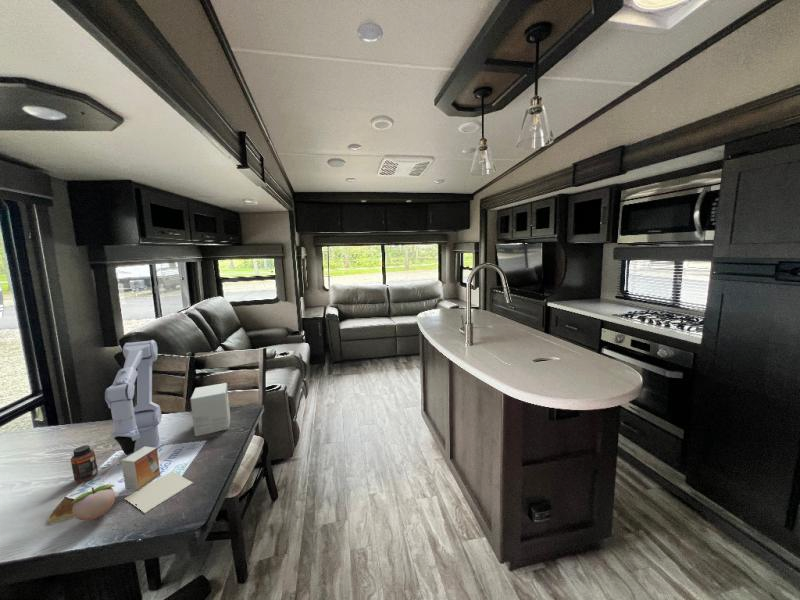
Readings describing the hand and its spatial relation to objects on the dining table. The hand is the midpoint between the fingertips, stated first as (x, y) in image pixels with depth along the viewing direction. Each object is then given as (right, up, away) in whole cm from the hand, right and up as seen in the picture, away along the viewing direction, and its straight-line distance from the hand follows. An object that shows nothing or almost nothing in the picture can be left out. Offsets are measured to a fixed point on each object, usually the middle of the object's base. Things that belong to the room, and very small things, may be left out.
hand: (129, 453), depth 110 cm
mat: (+16, -9, -7) cm, 20 cm away
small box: (+7, -9, -2) cm, 11 cm away
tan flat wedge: (-8, -12, -15) cm, 20 cm away
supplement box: (+10, -4, +33) cm, 35 cm away
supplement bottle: (-16, -9, 0) cm, 18 cm away
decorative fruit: (+6, -11, -17) cm, 21 cm away
